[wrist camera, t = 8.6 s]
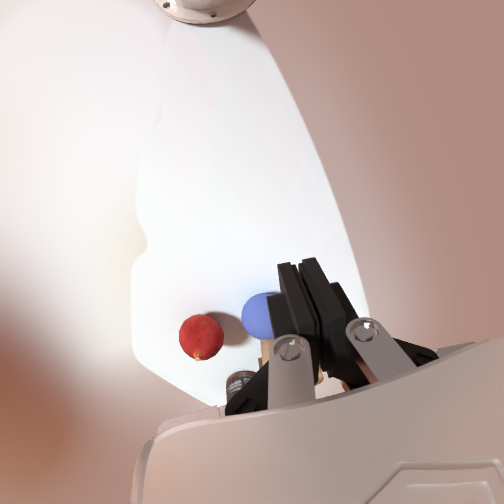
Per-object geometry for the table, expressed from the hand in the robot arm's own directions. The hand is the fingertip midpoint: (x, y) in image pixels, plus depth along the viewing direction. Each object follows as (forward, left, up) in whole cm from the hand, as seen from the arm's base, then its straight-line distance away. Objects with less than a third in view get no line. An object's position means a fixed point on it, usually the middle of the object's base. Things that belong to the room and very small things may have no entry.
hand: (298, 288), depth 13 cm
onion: (+17, -10, -22) cm, 29 cm away
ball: (+16, -2, -19) cm, 24 cm away
